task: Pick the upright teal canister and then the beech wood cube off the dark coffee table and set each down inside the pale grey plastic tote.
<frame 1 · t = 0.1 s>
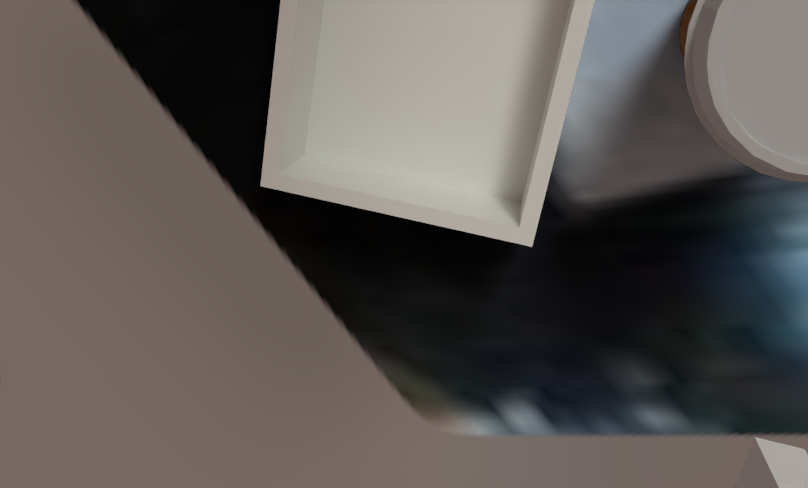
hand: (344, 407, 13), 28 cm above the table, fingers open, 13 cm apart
disposable coffee cup: (748, 28, 35), on the table
tote: (440, 25, 37), on the table
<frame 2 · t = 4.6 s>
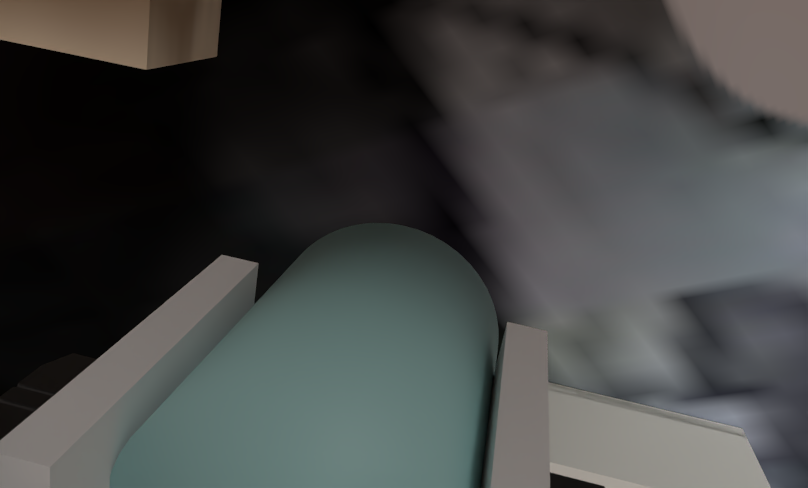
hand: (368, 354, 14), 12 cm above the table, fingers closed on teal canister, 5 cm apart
teal canister: (384, 331, 16), point 10 cm above the table, touching gripper
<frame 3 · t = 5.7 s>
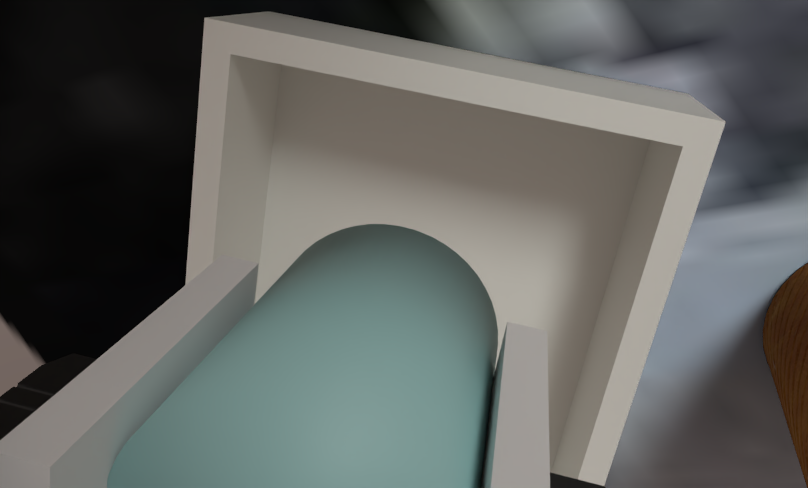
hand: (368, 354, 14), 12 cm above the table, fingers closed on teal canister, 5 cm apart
tote: (422, 297, 27), on the table
teal canister: (383, 332, 16), point 10 cm above the table, touching gripper
when the fingers open (5 cm above the table, at t = 7.1 s): teal canister drops 2 cm, resting on tote.
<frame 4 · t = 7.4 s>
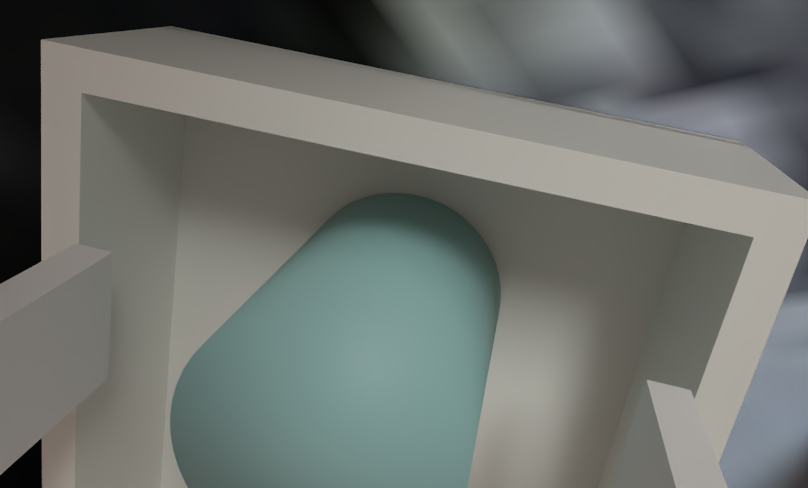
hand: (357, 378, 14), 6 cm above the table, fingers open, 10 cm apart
tote: (383, 400, 20), on the table
teal canister: (400, 290, 18), point 1 cm above the table, touching tote
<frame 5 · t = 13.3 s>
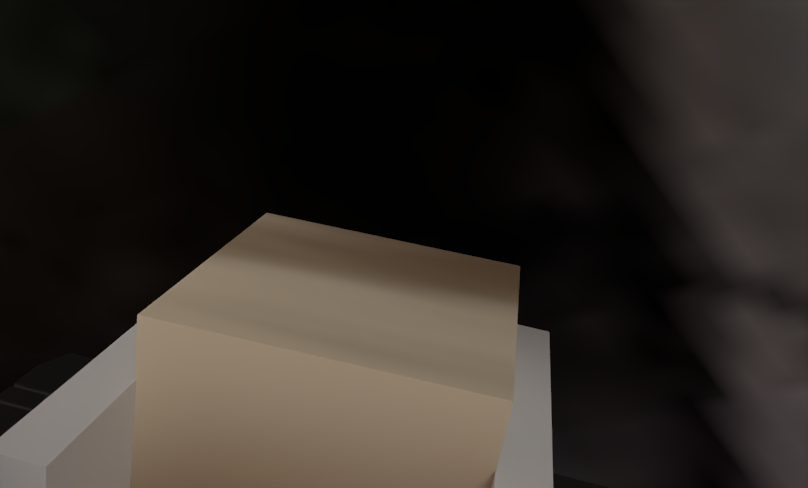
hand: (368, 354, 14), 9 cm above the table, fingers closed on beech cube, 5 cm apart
beech cube: (372, 353, 15), point 8 cm above the table, touching gripper
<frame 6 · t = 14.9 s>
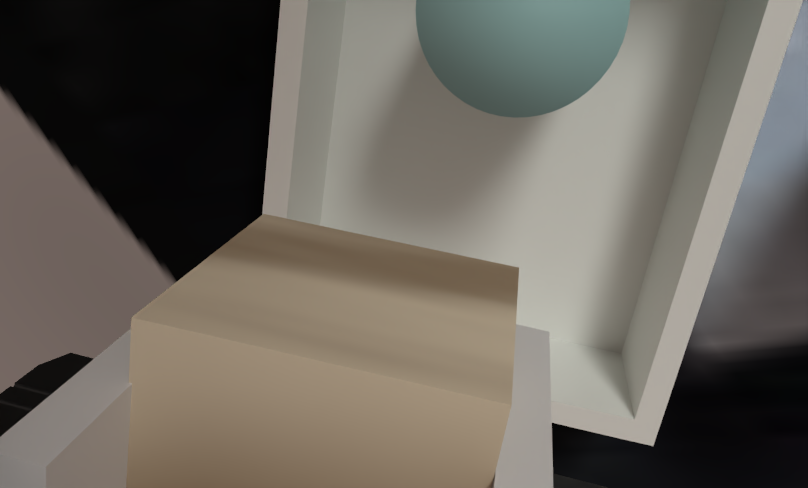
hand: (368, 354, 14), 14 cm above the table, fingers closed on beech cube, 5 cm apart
tote: (506, 110, 26), on the table
teal canister: (526, 1, 24), point 1 cm above the table, touching tote
beech cube: (370, 355, 15), point 13 cm above the table, touching gripper
when the fingers open (5 cm above the table, at t = 16.9 s): beech cube drops 4 cm, resting on tote.
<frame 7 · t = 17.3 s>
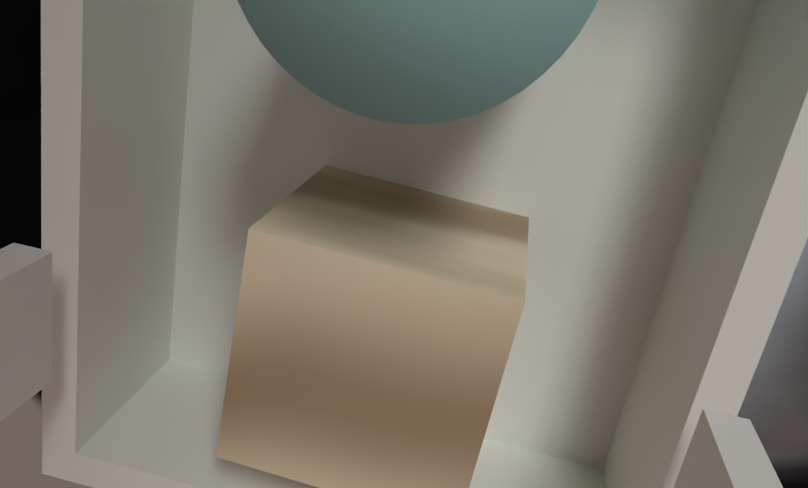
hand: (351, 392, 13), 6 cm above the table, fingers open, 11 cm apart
tote: (438, 115, 17), on the table
beech cube: (404, 284, 18), point 1 cm above the table, touching tote
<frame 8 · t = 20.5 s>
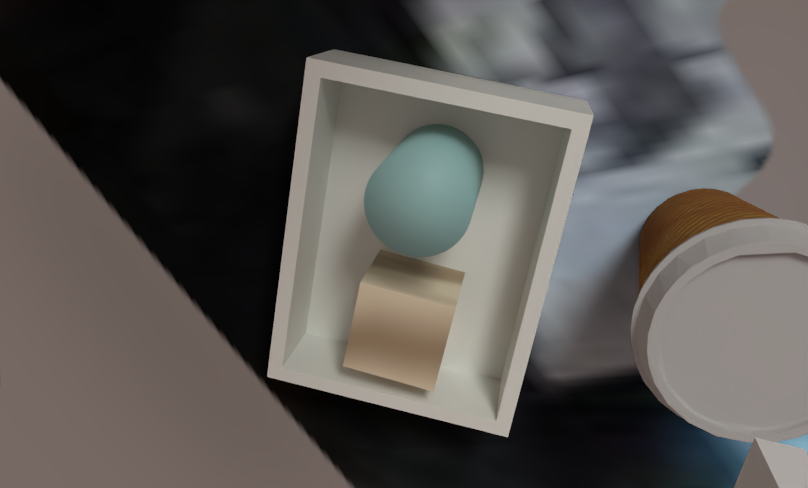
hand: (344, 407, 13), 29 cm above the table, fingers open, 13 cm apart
disposable coffee cup: (698, 243, 40), on the table
tote: (427, 229, 42), on the table
teal canister: (437, 170, 40), point 1 cm above the table, touching tote
beech cube: (413, 299, 43), point 1 cm above the table, touching tote
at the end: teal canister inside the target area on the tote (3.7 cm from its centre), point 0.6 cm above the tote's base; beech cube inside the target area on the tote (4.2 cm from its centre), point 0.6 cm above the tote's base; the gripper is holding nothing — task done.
